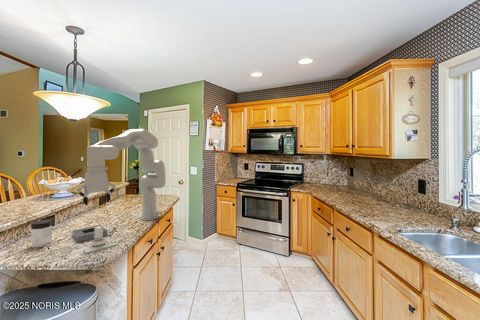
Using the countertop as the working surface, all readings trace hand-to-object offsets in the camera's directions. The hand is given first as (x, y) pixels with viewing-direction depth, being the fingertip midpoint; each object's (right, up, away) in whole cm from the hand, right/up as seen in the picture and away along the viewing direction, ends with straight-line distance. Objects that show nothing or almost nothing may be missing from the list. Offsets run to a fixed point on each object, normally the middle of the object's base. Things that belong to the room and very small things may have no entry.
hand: (97, 203), depth 117 cm
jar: (-31, -22, +3) cm, 38 cm away
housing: (-12, -22, +13) cm, 28 cm away
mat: (0, -22, +1) cm, 22 cm away
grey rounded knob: (0, -21, +1) cm, 21 cm away
